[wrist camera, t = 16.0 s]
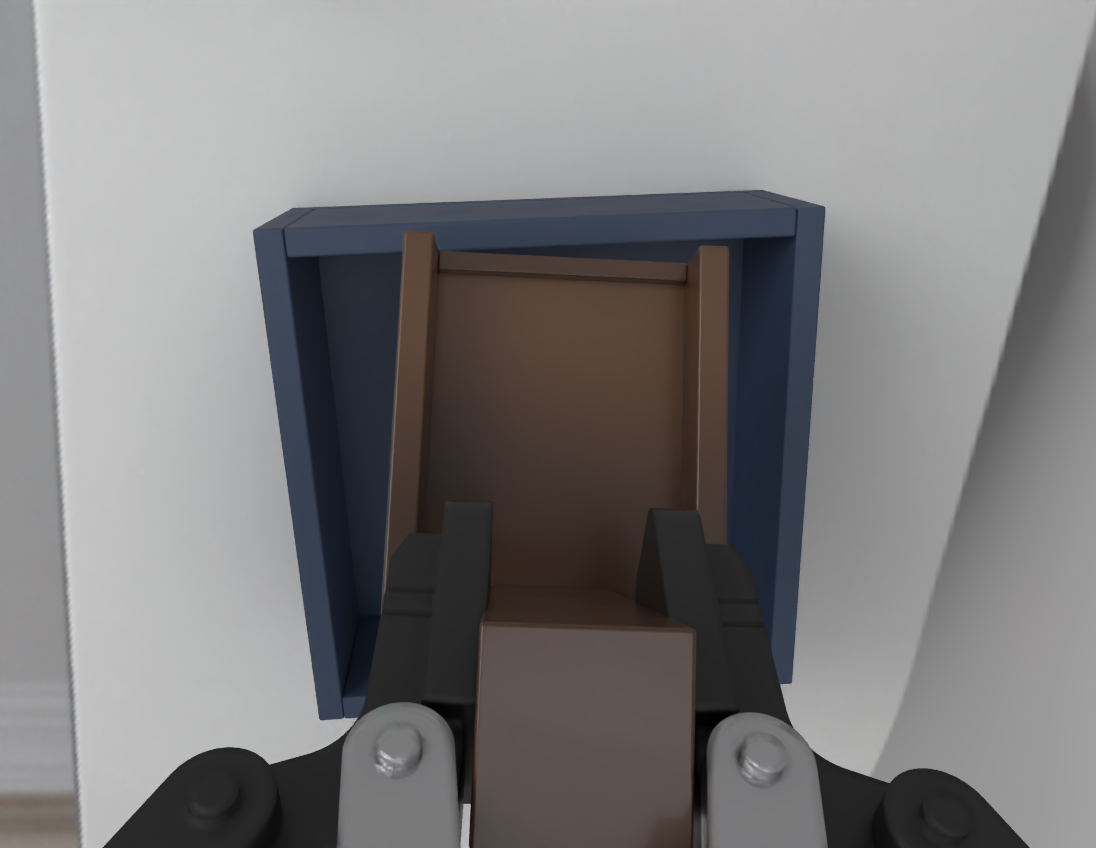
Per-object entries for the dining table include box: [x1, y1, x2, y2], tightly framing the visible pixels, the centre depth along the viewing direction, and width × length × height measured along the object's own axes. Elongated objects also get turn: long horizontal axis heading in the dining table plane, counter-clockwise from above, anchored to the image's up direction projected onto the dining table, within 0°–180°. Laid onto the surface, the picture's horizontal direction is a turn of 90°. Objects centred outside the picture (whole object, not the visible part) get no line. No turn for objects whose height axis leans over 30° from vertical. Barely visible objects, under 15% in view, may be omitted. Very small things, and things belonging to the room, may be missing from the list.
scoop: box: [381, 231, 729, 848], centre depth 15 cm, size 10×6×9 cm
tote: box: [253, 190, 825, 720], centre depth 30 cm, size 16×16×6 cm
